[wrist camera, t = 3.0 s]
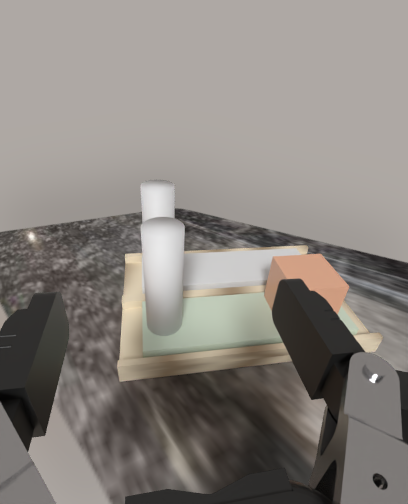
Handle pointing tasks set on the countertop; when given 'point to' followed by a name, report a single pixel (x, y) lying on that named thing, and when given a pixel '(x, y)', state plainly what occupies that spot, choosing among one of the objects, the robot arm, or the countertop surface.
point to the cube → (307, 277)
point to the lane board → (186, 363)
